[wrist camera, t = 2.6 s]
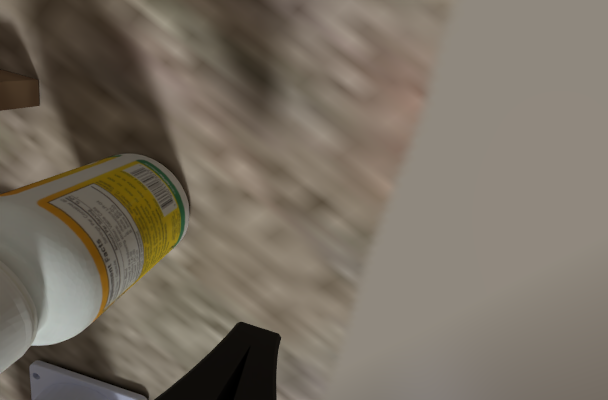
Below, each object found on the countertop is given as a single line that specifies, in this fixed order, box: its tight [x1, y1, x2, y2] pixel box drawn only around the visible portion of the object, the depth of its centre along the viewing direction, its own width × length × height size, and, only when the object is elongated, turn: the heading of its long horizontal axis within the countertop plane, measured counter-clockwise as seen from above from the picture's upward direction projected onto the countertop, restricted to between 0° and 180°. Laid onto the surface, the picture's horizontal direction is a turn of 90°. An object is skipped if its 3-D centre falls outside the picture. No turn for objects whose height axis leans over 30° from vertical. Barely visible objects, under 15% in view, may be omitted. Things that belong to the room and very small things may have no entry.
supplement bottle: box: [0, 153, 189, 373], centre depth 14 cm, size 5×5×10 cm
